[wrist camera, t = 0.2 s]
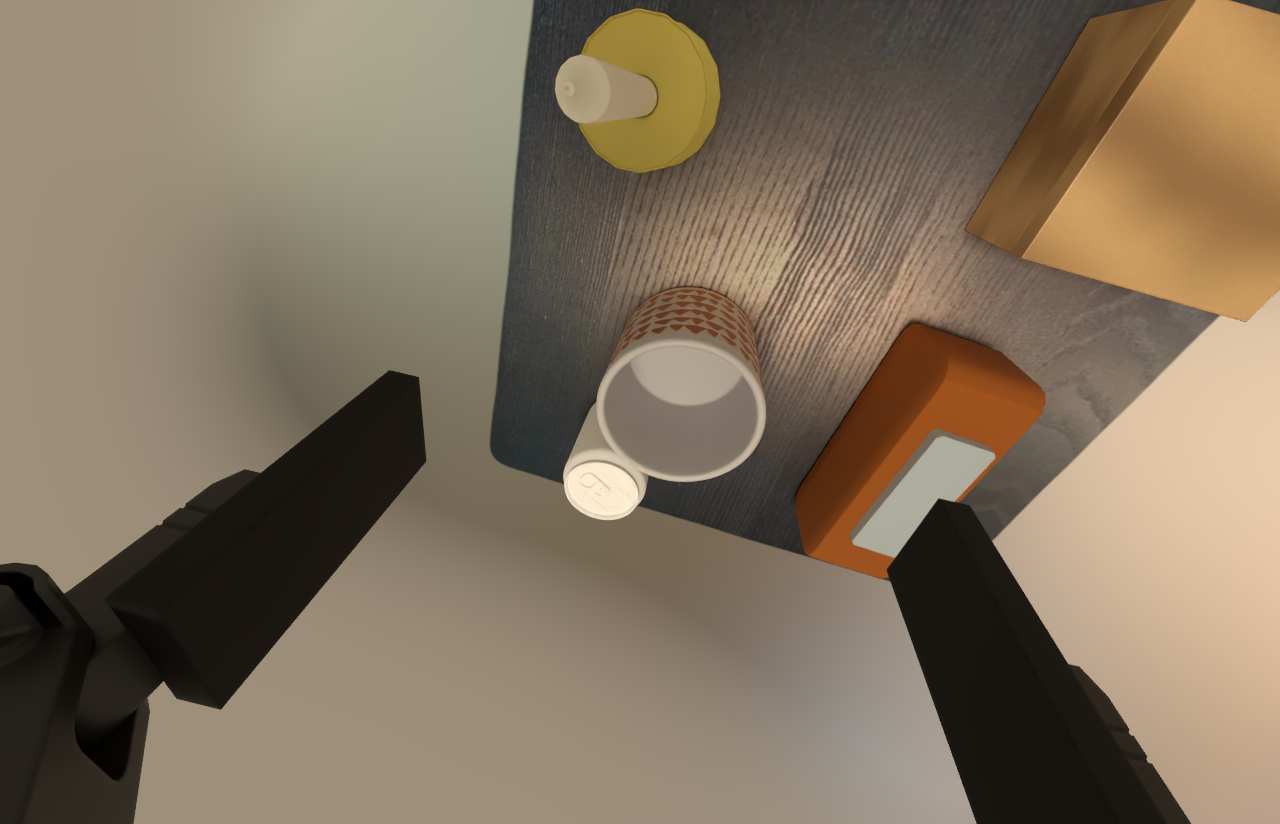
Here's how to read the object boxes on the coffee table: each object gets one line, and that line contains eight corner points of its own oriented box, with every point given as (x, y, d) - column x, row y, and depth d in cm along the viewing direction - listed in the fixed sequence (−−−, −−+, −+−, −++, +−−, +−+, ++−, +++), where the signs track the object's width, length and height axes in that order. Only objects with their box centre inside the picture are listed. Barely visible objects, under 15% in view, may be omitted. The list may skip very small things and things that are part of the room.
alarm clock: (857, 517, 58) (884, 597, 48) (791, 495, 57) (806, 573, 48) (994, 344, 44) (1068, 408, 35) (910, 315, 44) (962, 372, 35)
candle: (747, 96, 37) (789, 80, 15) (657, 196, 42) (582, 300, 19) (656, -20, 34) (532, -263, 12) (570, 101, 39) (363, 95, 16)
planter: (596, 325, 49) (562, 386, 38) (717, 258, 44) (716, 307, 33) (664, 425, 55) (650, 502, 44) (778, 376, 49) (794, 450, 39)
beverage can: (627, 461, 58) (608, 535, 48) (574, 421, 56) (543, 490, 46) (672, 422, 54) (661, 494, 44) (617, 378, 52) (592, 443, 42)
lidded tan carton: (1089, 18, 32) (1202, -9, 25) (1316, 83, 32) (1497, 76, 25) (963, 229, 40) (1020, 258, 32) (1147, 281, 40) (1246, 322, 32)
